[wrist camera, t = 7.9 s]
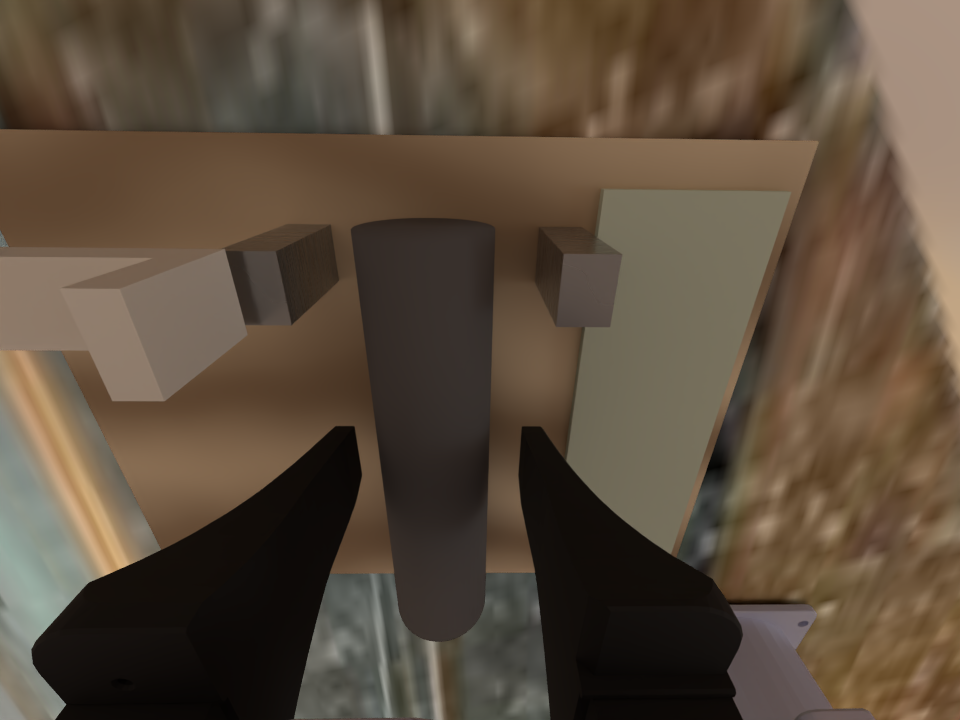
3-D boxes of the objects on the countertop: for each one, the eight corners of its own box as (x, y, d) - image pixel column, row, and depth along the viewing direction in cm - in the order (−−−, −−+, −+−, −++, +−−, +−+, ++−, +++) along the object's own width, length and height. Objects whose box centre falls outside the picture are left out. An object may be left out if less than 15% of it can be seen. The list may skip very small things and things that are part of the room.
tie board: (665, 559, 19) (712, 658, 15) (182, 562, 18) (110, 663, 15) (802, 141, 11) (965, 134, 7) (-25, 129, 11) (-286, 116, 7)
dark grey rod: (486, 559, 17) (483, 644, 14) (408, 555, 18) (388, 638, 15) (496, 219, 11) (493, 242, 8) (374, 216, 11) (327, 239, 8)
